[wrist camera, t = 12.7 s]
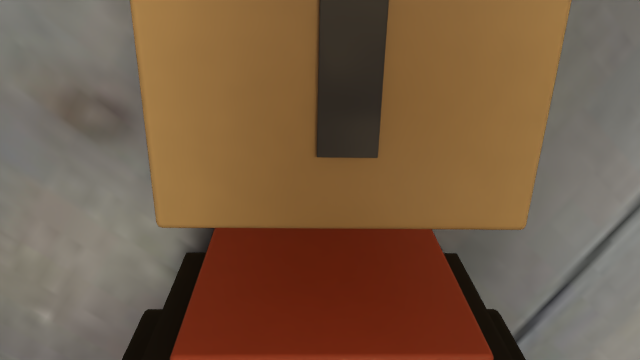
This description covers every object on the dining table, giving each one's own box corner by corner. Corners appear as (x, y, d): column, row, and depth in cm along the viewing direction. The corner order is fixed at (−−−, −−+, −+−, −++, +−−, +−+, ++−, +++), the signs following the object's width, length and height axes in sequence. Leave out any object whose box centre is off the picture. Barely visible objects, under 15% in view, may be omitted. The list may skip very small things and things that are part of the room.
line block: (467, -129, 9) (626, -225, 4) (437, 126, 10) (530, 236, 6) (200, -137, 9) (93, -246, 4) (216, 123, 10) (152, 234, 6)
